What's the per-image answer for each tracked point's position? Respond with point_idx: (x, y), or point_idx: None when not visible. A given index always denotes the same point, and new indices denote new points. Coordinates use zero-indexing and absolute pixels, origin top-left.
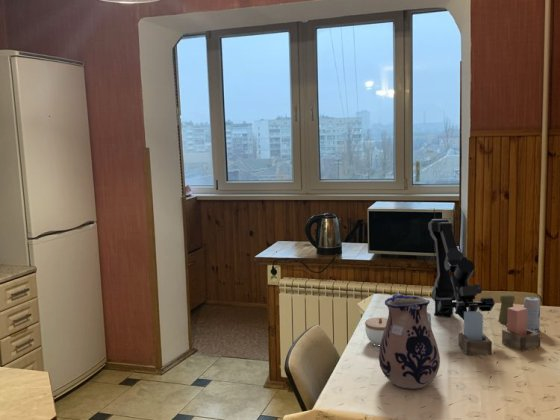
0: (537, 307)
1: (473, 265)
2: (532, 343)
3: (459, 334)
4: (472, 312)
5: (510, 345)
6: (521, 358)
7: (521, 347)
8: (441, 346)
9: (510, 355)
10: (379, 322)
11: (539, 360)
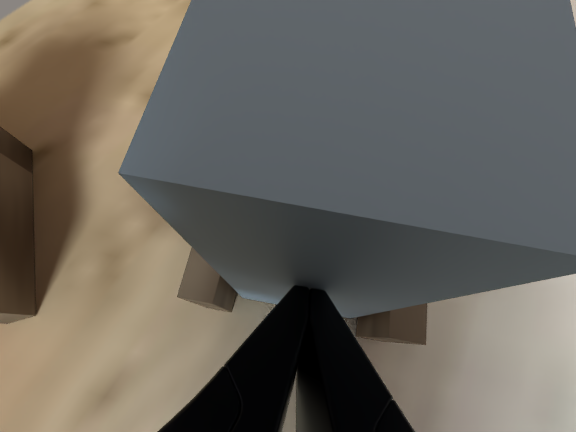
0: None
1: None
2: None
3: (424, 310)
4: (374, 119)
5: (32, 239)
6: (128, 75)
7: (19, 152)
8: (513, 354)
9: None
10: None
11: (64, 40)
